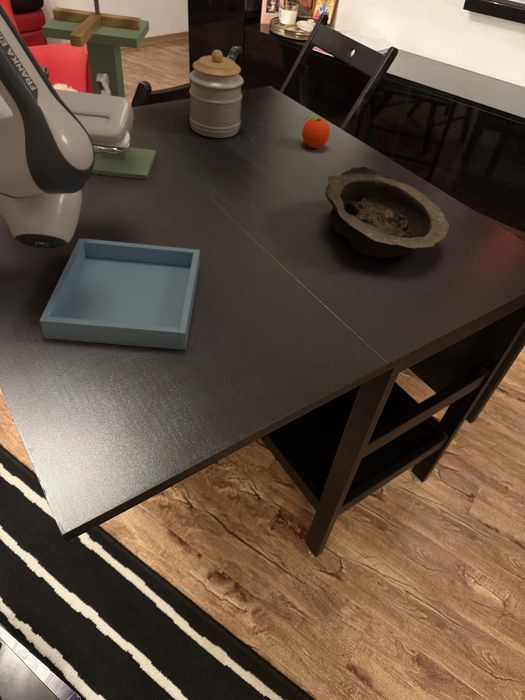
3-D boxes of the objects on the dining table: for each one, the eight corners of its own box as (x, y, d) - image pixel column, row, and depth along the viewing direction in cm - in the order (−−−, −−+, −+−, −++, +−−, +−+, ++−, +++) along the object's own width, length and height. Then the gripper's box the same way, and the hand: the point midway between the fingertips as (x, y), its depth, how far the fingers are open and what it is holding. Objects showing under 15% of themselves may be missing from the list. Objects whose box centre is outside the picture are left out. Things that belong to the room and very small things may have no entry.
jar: (187, 116, 126) (186, 39, 113) (236, 118, 128) (241, 43, 116) (191, 138, 117) (191, 57, 104) (243, 139, 120) (249, 61, 107)
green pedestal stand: (70, 171, 100) (41, 26, 81) (85, 146, 109) (62, 9, 90) (147, 179, 101) (136, 38, 83) (156, 154, 110) (148, 20, 91)
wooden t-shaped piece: (28, 40, 76) (22, 11, 73) (57, 16, 86) (52, -10, 83) (124, 52, 77) (121, 24, 74) (141, 27, 87) (139, 1, 85)
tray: (44, 338, 68) (39, 320, 66) (82, 255, 82) (79, 238, 79) (185, 350, 70) (185, 333, 67) (199, 266, 83) (199, 249, 81)
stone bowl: (294, 209, 99) (304, 166, 93) (392, 206, 108) (408, 166, 102) (350, 282, 84) (367, 236, 77) (459, 270, 93) (483, 229, 87)
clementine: (291, 142, 122) (295, 113, 117) (309, 136, 125) (314, 108, 120) (313, 155, 118) (319, 125, 113) (332, 149, 122) (338, 120, 117)
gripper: (124, 143, 71) (135, 65, 74) (-19, 126, 69) (-1, 47, 73) (131, 168, 77) (142, 95, 80) (0, 153, 76) (16, 79, 79)
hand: (73, 72), depth 76 cm, fingers open, 8 cm apart
